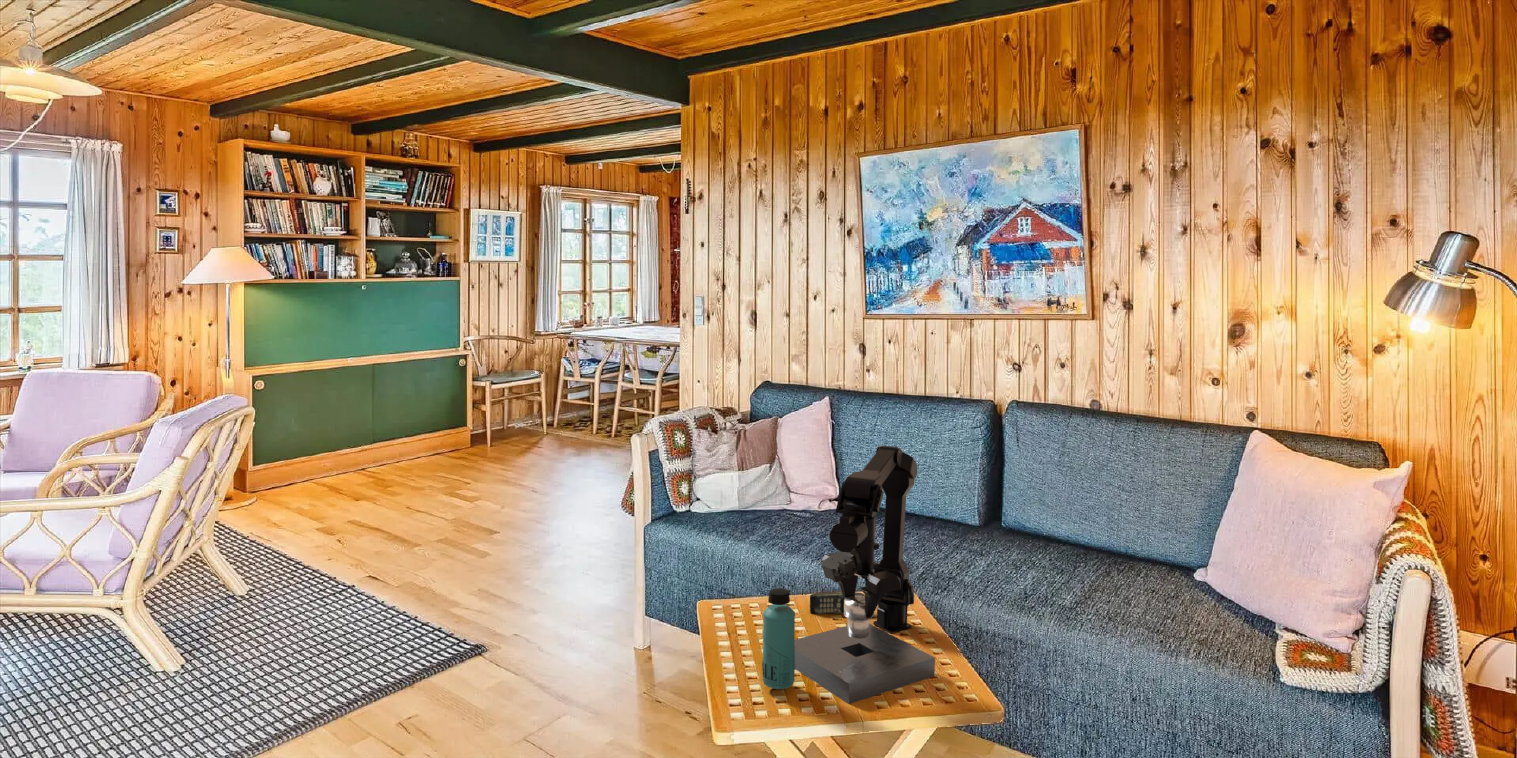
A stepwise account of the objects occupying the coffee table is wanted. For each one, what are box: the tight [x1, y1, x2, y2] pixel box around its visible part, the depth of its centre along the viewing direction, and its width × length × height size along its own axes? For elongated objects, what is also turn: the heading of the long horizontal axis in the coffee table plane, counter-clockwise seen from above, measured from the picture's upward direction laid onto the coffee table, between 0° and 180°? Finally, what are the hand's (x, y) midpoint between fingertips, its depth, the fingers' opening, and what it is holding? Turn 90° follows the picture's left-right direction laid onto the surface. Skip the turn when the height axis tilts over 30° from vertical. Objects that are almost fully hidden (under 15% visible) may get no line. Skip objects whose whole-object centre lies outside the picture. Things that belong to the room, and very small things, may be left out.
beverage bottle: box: [761, 587, 796, 690], centre depth 170 cm, size 6×7×20 cm
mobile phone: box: [809, 591, 865, 615], centre depth 211 cm, size 5×3×15 cm
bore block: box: [794, 623, 936, 705], centre depth 180 cm, size 22×22×4 cm
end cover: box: [843, 595, 875, 639], centre depth 179 cm, size 6×6×7 cm
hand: (858, 612), depth 179 cm, fingers closed on end cover, 6 cm apart
